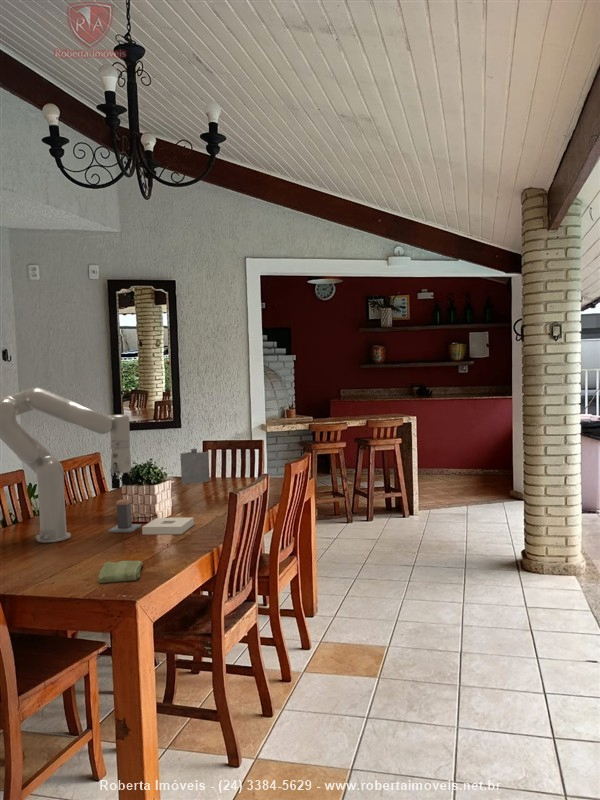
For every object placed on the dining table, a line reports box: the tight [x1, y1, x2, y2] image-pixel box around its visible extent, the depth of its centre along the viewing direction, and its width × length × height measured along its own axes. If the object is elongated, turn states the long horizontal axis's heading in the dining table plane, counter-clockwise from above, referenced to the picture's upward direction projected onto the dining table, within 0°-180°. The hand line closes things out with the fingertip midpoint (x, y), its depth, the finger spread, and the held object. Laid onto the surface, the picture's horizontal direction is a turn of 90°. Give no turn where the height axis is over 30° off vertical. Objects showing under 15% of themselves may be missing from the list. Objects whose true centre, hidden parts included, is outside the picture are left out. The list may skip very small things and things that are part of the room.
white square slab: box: [141, 517, 195, 536], centre depth 268 cm, size 16×16×3 cm
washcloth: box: [97, 560, 144, 584], centre depth 210 cm, size 13×18×3 cm
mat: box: [107, 523, 142, 533], centre depth 272 cm, size 10×10×1 cm
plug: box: [115, 499, 133, 529], centre depth 272 cm, size 4×4×11 cm
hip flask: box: [180, 448, 211, 485], centre depth 380 cm, size 16×4×20 cm, turn 92°
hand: (120, 486), depth 271 cm, fingers open, 9 cm apart
